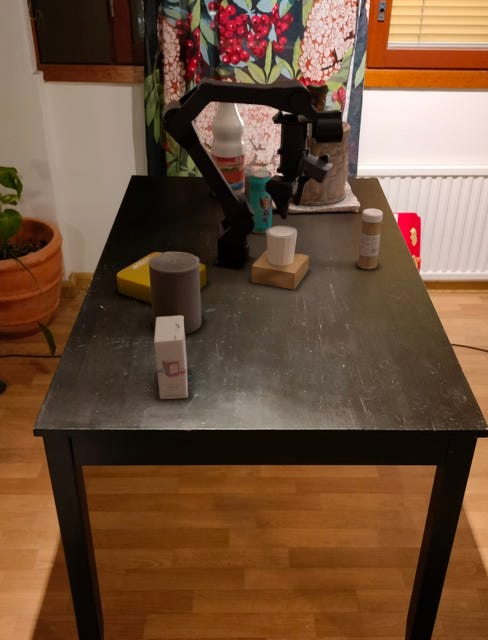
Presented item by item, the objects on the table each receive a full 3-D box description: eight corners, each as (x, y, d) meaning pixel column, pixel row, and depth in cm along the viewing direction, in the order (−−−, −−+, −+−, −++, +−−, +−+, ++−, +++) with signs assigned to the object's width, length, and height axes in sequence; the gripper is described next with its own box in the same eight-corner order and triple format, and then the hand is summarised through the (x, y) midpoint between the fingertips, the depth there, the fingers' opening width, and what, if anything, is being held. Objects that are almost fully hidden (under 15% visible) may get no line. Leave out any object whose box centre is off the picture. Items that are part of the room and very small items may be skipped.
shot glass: (293, 268, 156) (294, 238, 152) (262, 265, 157) (263, 235, 153) (298, 255, 162) (299, 226, 158) (268, 252, 163) (269, 223, 159)
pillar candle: (163, 340, 137) (158, 270, 129) (146, 318, 145) (140, 250, 137) (209, 329, 141) (207, 260, 133) (190, 308, 149) (187, 241, 140)
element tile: (156, 267, 165) (155, 248, 162) (210, 282, 159) (210, 263, 156) (114, 292, 154) (112, 272, 151) (170, 310, 148) (169, 289, 145)
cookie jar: (346, 184, 215) (356, 71, 198) (362, 214, 194) (374, 92, 177) (265, 184, 214) (267, 71, 196) (272, 215, 193) (275, 92, 176)
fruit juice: (232, 186, 212) (232, 88, 197) (251, 195, 206) (251, 94, 191) (206, 192, 207) (203, 92, 192) (223, 202, 201) (222, 99, 186)
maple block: (251, 282, 159) (251, 265, 157) (267, 264, 167) (267, 248, 165) (294, 289, 156) (294, 273, 154) (307, 271, 164) (308, 255, 162)
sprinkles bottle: (371, 260, 169) (377, 206, 162) (380, 268, 166) (386, 213, 158) (353, 263, 168) (359, 209, 160) (362, 271, 164) (368, 216, 157)
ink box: (159, 372, 128) (155, 314, 122) (187, 371, 129) (184, 313, 122) (158, 400, 121) (153, 340, 115) (187, 398, 121) (184, 339, 115)
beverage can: (258, 236, 181) (259, 178, 172) (244, 229, 184) (245, 172, 176) (276, 231, 184) (277, 174, 176) (262, 224, 187) (263, 168, 179)
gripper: (316, 160, 144) (312, 232, 153) (340, 136, 159) (335, 203, 167) (265, 153, 147) (263, 224, 156) (293, 131, 162) (290, 197, 171)
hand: (290, 212), depth 162 cm, fingers open, 9 cm apart
